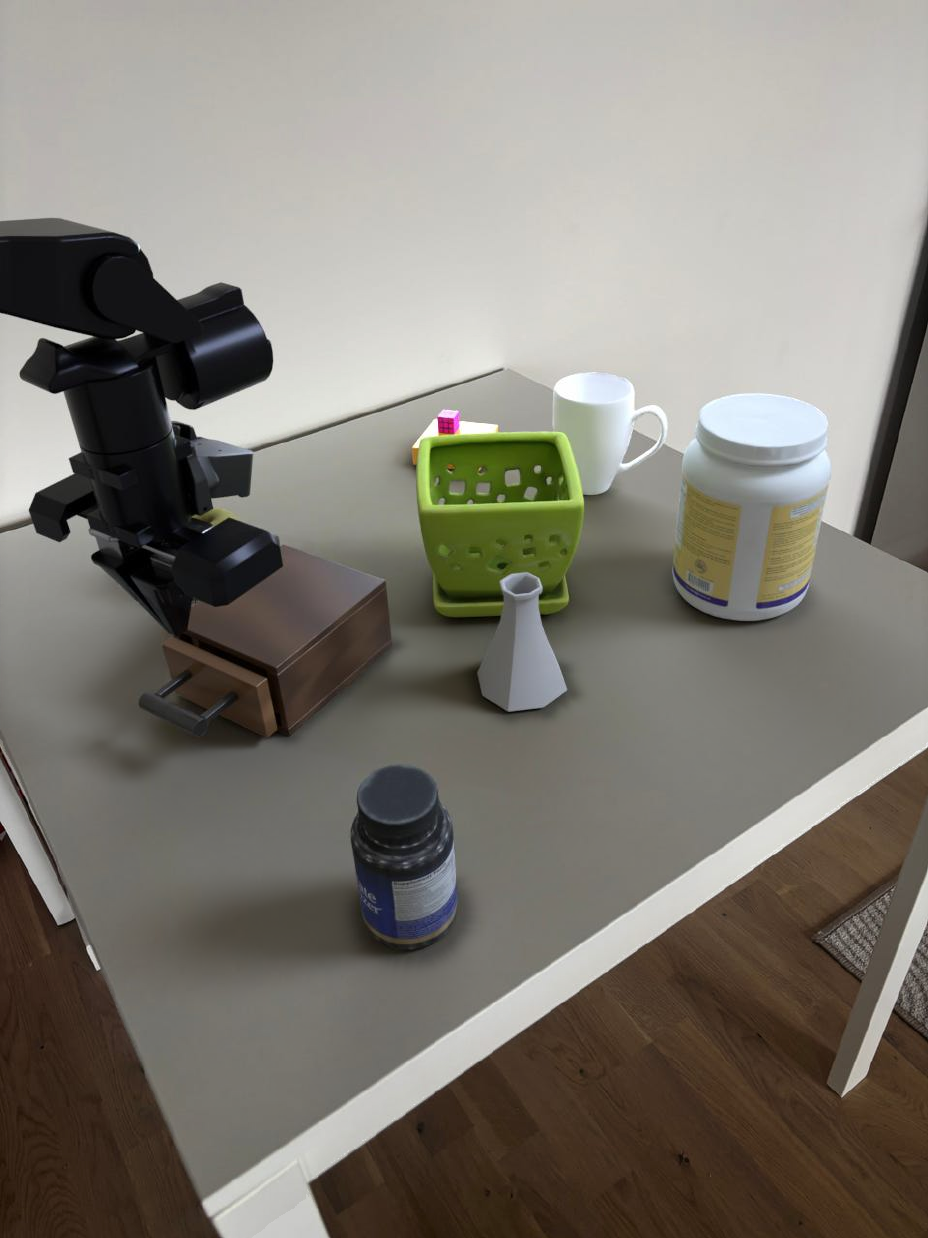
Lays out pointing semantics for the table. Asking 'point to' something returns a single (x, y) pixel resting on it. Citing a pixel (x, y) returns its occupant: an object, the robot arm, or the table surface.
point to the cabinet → (302, 630)
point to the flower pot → (498, 518)
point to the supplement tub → (751, 506)
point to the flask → (520, 651)
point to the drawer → (213, 689)
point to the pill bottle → (404, 858)
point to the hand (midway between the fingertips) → (178, 632)
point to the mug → (600, 425)
